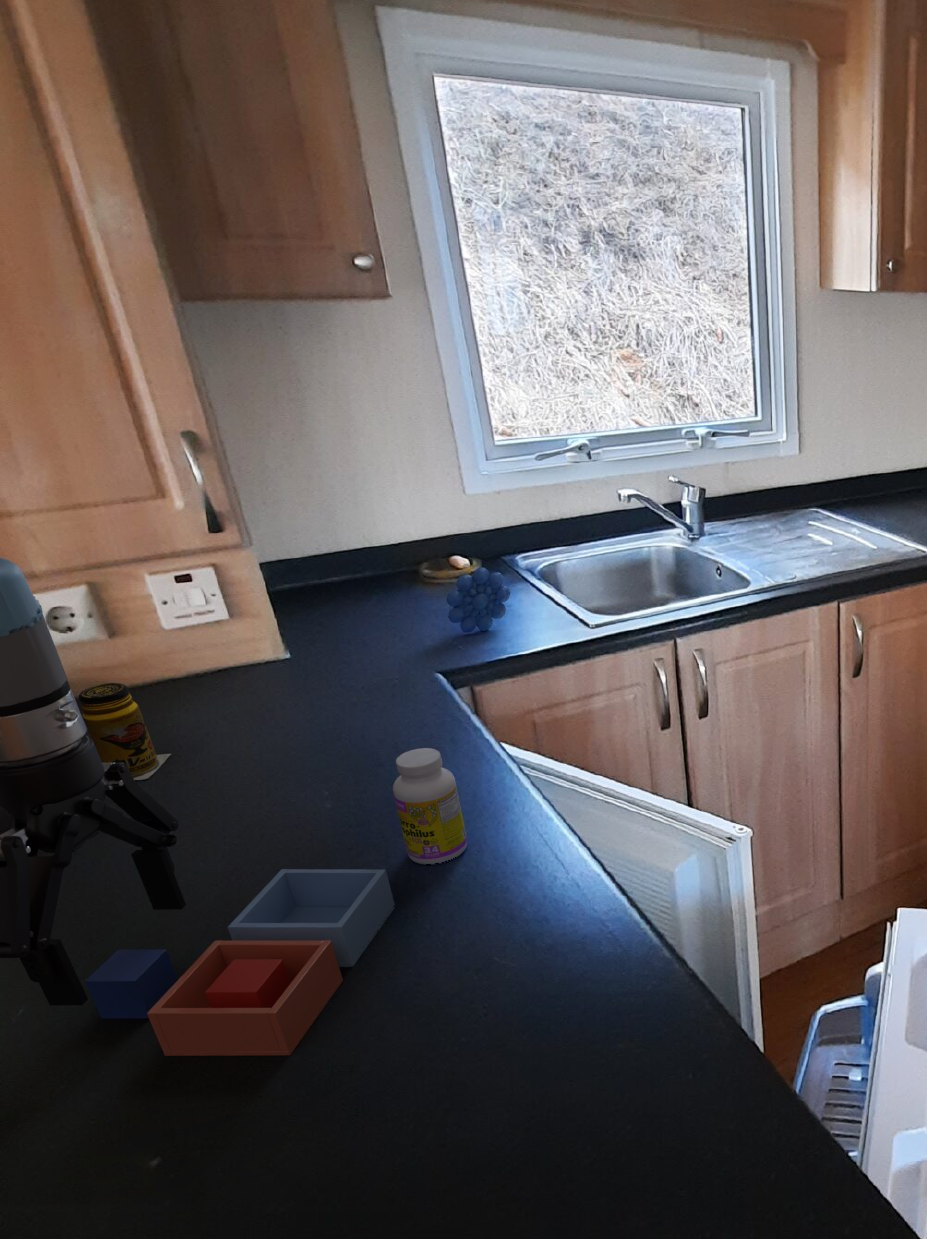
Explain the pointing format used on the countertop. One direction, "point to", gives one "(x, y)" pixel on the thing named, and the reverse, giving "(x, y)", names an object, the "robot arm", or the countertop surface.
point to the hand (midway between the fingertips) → (123, 952)
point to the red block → (249, 984)
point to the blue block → (131, 983)
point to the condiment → (119, 729)
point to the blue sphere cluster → (478, 600)
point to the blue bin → (319, 909)
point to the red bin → (246, 1031)
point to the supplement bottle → (428, 807)
